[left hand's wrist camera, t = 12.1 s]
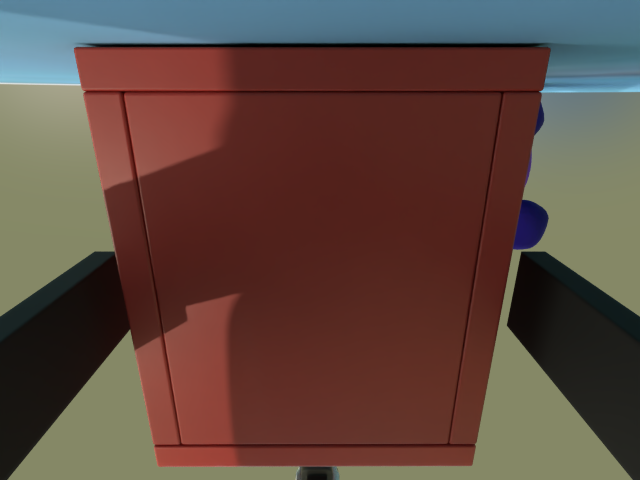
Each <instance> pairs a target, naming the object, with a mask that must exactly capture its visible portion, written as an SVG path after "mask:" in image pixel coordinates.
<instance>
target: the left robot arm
mask: <svg viewBox="0 0 640 480" xmlns="http://www.w3.org/2000/svg"><path fill="white" fill-rule="evenodd" d="M507 326H508V327H509V329H510V330H511V331H512V332H513V334H514V335H515V336H516V337H517V338H518V340H519V341H520V342H521V343H522V345H523V346H524V347H525V348H526V350H527V351H528V352H529V353H530V354H531V356H532V357H533V358H534V359H535V360H536V362H537V363H538V364H539V365H540V367H541V368H542V369H543V370H544V372H545V373H546V374H547V375H548V376H549V378H550V379H551V380H552V381H553V383H554V384H555V385H556V386H557V387H558V389H559V390H560V391H561V392H562V394H563V395H564V396H565V397H566V398H567V400H568V401H569V402H570V403H571V405H572V406H573V407H574V408H575V410H576V411H577V412H578V413H579V414H580V416H581V417H582V418H583V419H584V421H585V422H586V423H587V424H588V425H589V427H590V428H591V429H592V430H593V431H594V433H595V434H596V435H597V436H598V438H599V439H600V440H601V441H602V443H603V444H604V445H605V446H606V447H607V449H608V450H609V451H610V452H611V454H612V455H613V456H614V457H615V458H616V460H617V461H618V462H619V463H620V465H621V466H622V467H623V468H624V469H625V471H626V472H627V473H628V474H629V476H630V477H631V478H632V479H633V480H640V317H639V316H638V315H637V314H635V313H634V312H632V311H631V310H629V309H628V308H626V307H625V306H623V305H622V304H621V303H619V302H618V301H616V300H615V299H613V298H612V297H610V296H609V295H607V294H606V293H605V292H603V291H602V290H600V289H599V288H597V287H596V286H594V285H593V284H591V283H590V282H589V281H587V280H586V279H584V278H583V277H581V276H580V275H578V274H577V273H576V272H574V271H573V270H571V269H570V268H568V267H567V266H565V265H564V264H562V263H561V262H559V261H558V260H557V259H555V258H554V257H552V256H551V255H549V254H548V253H546V252H521V256H520V261H519V266H518V271H517V276H516V282H515V287H514V292H513V297H512V302H511V307H510V312H509V317H508V323H507ZM129 330H130V325H129V320H128V315H127V310H126V305H125V300H124V295H123V290H122V285H121V280H120V275H119V270H118V265H117V260H116V255H115V252H94V253H92V254H91V255H89V256H88V257H86V258H85V259H83V260H82V261H80V262H79V263H78V264H76V265H75V266H73V267H72V268H70V269H69V270H67V271H66V272H64V273H63V274H62V275H60V276H59V277H57V278H56V279H54V280H53V281H51V282H50V283H48V284H47V285H46V286H44V287H43V288H41V289H40V290H38V291H37V292H35V293H34V294H32V295H31V296H30V297H28V298H27V299H25V300H24V301H22V302H21V303H19V304H18V305H17V306H15V307H14V308H12V309H11V310H9V311H8V312H6V313H5V314H3V315H2V316H1V317H0V480H7V479H8V478H9V477H10V476H11V474H12V473H13V472H14V471H15V469H16V468H17V467H18V466H19V464H20V463H21V462H22V461H23V460H24V458H25V457H26V456H27V455H28V454H29V452H30V451H31V450H32V449H33V447H34V446H35V445H36V444H37V443H38V441H39V440H40V439H41V438H42V436H43V435H44V434H45V433H46V431H47V430H48V429H49V428H50V427H51V425H52V424H53V423H54V422H55V420H56V419H57V418H58V417H59V416H60V414H61V413H62V412H63V411H64V409H65V408H66V407H67V406H68V405H69V403H70V402H71V401H72V400H73V398H74V397H75V396H76V395H77V393H78V392H79V391H80V390H81V389H82V387H83V386H84V385H85V384H86V383H87V381H88V380H89V379H90V378H91V376H92V375H93V374H94V373H95V372H96V370H97V369H98V368H99V367H100V365H101V364H102V363H103V362H104V361H105V359H106V358H107V357H108V356H109V354H110V353H111V352H112V351H113V349H114V348H115V347H116V346H117V345H118V343H119V342H120V341H121V340H122V338H123V337H124V336H125V335H126V334H127V332H128V331H129Z"/></svg>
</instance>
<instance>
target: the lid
mask: <svg viewBox="0 0 640 480" xmlns="http://www.w3.org/2000/svg"><path fill="white" fill-rule="evenodd" d="M475 448H476V446H475V444H450V443H449V441H448V443H447V444H182V442H181V443H180V444H178V445H155V446H154V450H155V455H156V460H157V465H158V466H159V467H234V466H235V467H240V466H242V467H245V466H472V464H473V459H474V453H475Z"/></svg>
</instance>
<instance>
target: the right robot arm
mask: <svg viewBox="0 0 640 480" xmlns="http://www.w3.org/2000/svg"><path fill="white" fill-rule="evenodd" d="M296 480H339V471H338V469H337V467H336V466H299V468H298V469H297V473H296Z"/></svg>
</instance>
